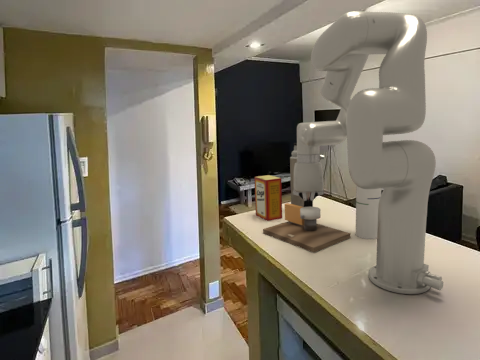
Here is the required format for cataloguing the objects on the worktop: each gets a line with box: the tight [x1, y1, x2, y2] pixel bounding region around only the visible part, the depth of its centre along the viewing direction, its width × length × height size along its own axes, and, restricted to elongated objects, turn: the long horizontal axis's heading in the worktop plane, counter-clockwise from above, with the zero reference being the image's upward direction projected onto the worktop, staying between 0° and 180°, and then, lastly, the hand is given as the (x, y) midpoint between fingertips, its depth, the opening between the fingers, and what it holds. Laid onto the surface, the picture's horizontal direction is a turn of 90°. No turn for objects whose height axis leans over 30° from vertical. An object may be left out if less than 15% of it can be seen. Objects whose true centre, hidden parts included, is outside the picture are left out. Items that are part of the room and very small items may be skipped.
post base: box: [262, 219, 351, 253], centre depth 103 cm, size 22×17×6 cm
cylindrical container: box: [355, 184, 382, 240], centre depth 99 cm, size 7×7×25 cm
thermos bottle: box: [289, 142, 311, 207], centre depth 128 cm, size 8×8×28 cm
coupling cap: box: [284, 202, 321, 225], centre depth 107 cm, size 14×8×6 cm, turn 36°
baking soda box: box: [253, 174, 283, 222], centre depth 125 cm, size 10×6×16 cm
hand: (308, 210), depth 113 cm, fingers closed
